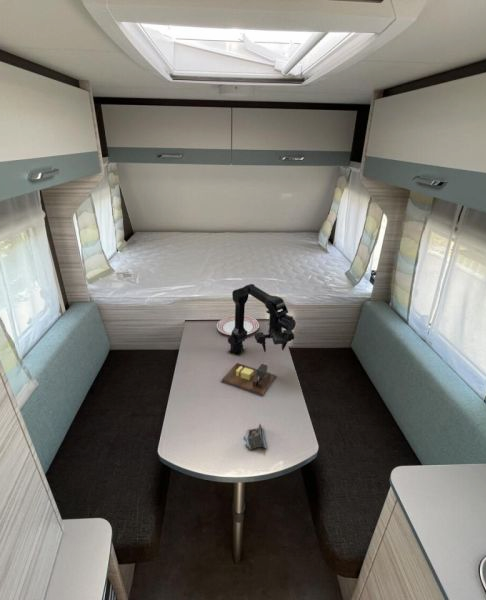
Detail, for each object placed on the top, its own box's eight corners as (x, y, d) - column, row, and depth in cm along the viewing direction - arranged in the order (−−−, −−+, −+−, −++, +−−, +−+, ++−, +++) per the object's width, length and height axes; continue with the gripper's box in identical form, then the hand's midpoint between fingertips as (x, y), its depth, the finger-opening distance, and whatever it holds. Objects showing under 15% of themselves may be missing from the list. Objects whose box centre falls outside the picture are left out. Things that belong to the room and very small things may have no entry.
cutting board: (221, 381, 162) (221, 375, 160) (237, 365, 175) (237, 358, 173) (262, 395, 153) (262, 388, 151) (275, 377, 166) (275, 370, 164)
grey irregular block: (244, 427, 135) (240, 428, 124) (260, 423, 135) (258, 423, 124) (250, 452, 131) (247, 454, 120) (267, 447, 131) (265, 449, 120)
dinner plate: (219, 341, 198) (218, 336, 197) (215, 320, 223) (215, 316, 221) (263, 337, 202) (263, 332, 201) (254, 318, 227) (254, 313, 225)
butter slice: (235, 375, 164) (235, 370, 163) (240, 371, 168) (240, 365, 166) (238, 376, 163) (238, 371, 162) (242, 371, 167) (242, 366, 166)
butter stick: (240, 377, 163) (240, 372, 162) (244, 372, 167) (244, 367, 165) (249, 380, 161) (249, 375, 159) (253, 375, 164) (253, 370, 163)
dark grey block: (255, 384, 158) (255, 371, 154) (262, 375, 164) (262, 362, 161) (260, 386, 156) (261, 372, 153) (267, 377, 163) (268, 364, 160)
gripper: (260, 333, 147) (259, 362, 154) (299, 329, 151) (297, 357, 157) (254, 322, 157) (254, 349, 164) (291, 318, 161) (289, 345, 167)
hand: (273, 350), depth 163 cm, fingers open, 9 cm apart
